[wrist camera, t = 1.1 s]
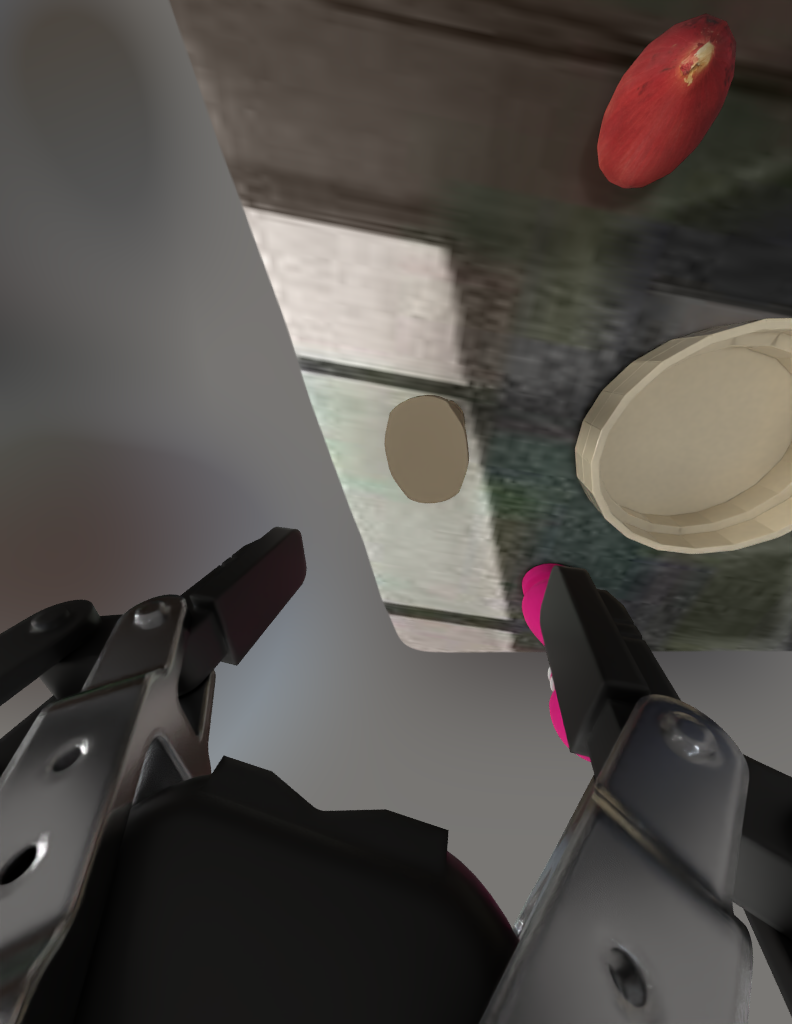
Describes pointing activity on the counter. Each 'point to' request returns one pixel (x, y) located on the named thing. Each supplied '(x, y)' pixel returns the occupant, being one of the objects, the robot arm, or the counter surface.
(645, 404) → the bowl
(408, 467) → the handle
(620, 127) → the onion
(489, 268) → the counter surface
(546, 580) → the pepper mill
